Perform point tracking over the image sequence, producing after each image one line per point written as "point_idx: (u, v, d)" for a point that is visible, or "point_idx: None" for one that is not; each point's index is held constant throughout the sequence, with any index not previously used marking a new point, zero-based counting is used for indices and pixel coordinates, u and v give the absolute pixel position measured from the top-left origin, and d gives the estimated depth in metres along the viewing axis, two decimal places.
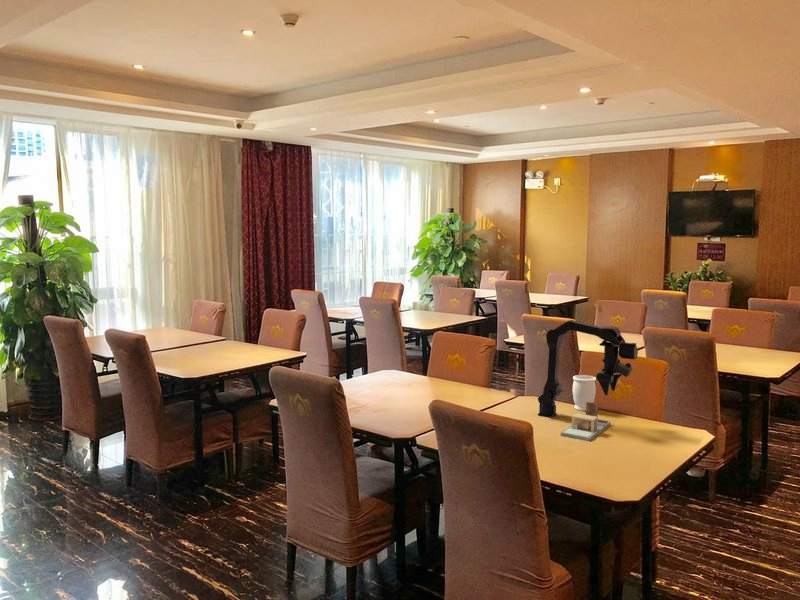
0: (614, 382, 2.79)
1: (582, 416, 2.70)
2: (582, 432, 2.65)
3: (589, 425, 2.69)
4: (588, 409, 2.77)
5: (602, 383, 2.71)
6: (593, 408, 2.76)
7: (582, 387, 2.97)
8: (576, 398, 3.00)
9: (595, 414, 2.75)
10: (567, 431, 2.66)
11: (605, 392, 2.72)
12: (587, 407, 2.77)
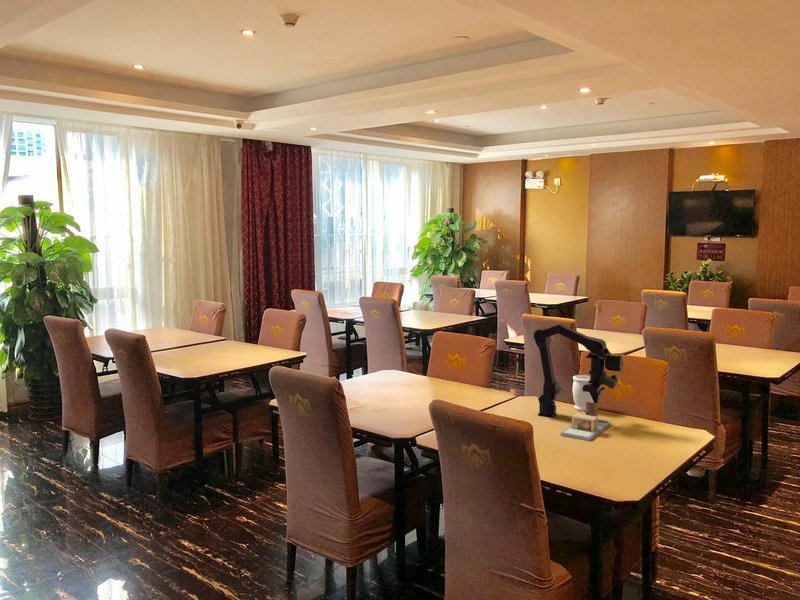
0: None
1: (582, 416, 2.70)
2: (582, 432, 2.65)
3: (589, 425, 2.69)
4: (588, 409, 2.77)
5: (592, 392, 2.80)
6: (593, 408, 2.76)
7: (582, 387, 2.97)
8: (576, 398, 3.00)
9: (595, 414, 2.75)
10: (567, 431, 2.66)
11: (594, 401, 2.81)
12: (587, 407, 2.77)
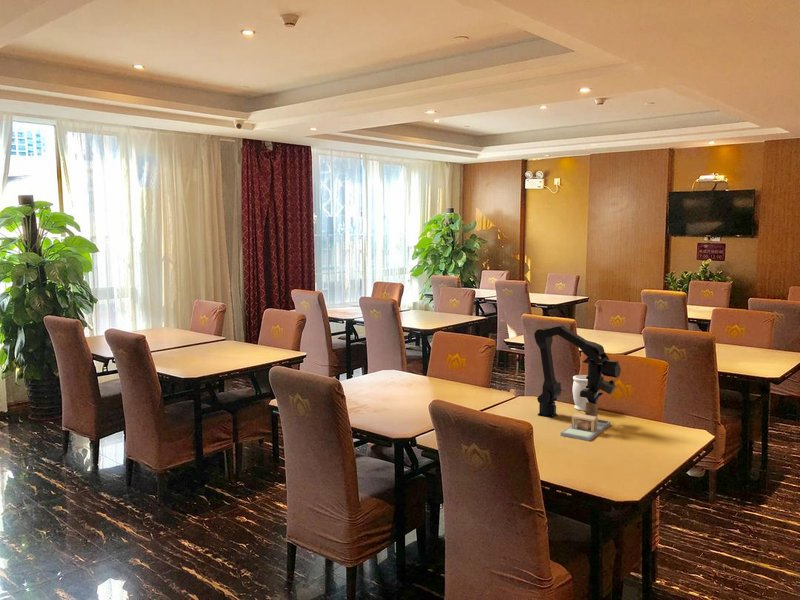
0: None
1: (582, 416, 2.70)
2: (582, 432, 2.65)
3: (589, 425, 2.68)
4: (588, 410, 2.77)
5: (589, 398, 2.77)
6: (593, 408, 2.75)
7: (582, 387, 2.97)
8: (576, 398, 3.00)
9: (595, 414, 2.75)
10: (567, 431, 2.66)
11: None
12: (587, 408, 2.77)
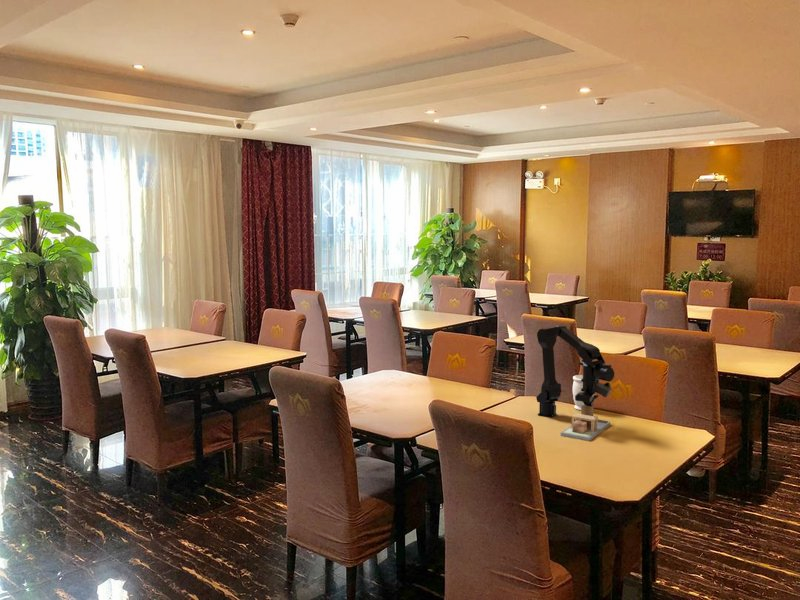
0: None
1: (582, 416, 2.70)
2: None
3: (584, 428, 2.64)
4: (584, 412, 2.72)
5: None
6: (588, 411, 2.71)
7: (582, 387, 2.97)
8: None
9: None
10: (567, 431, 2.66)
11: None
12: (583, 410, 2.73)
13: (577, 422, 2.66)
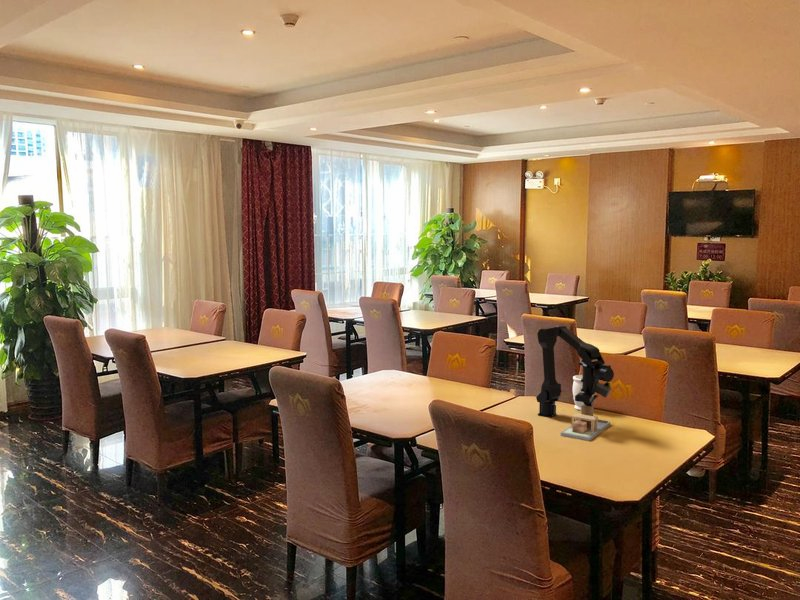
0: None
1: (582, 416, 2.70)
2: None
3: (584, 428, 2.64)
4: (584, 412, 2.72)
5: None
6: (588, 411, 2.71)
7: None
8: None
9: None
10: (567, 431, 2.66)
11: None
12: (583, 410, 2.73)
13: (577, 422, 2.66)
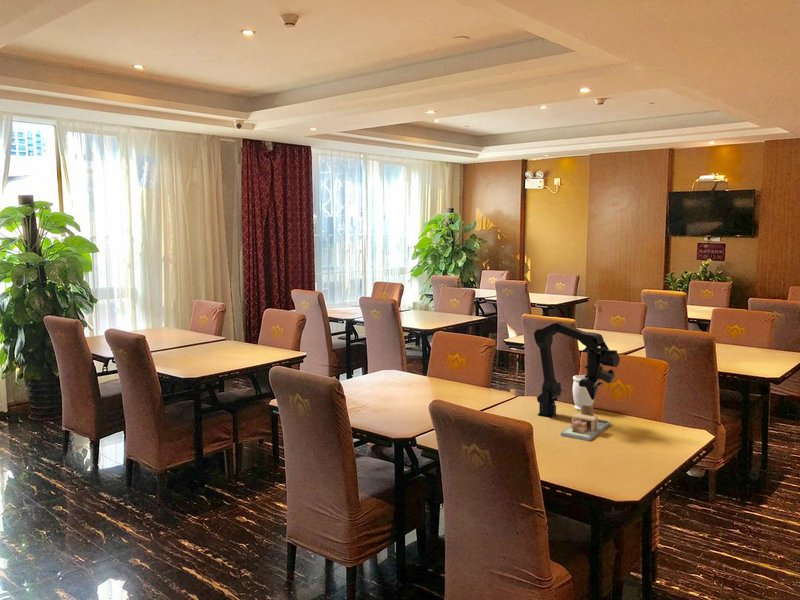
0: None
1: (582, 416, 2.70)
2: None
3: (584, 428, 2.64)
4: (584, 412, 2.72)
5: (588, 388, 2.75)
6: (588, 411, 2.71)
7: (582, 387, 2.97)
8: (576, 398, 3.00)
9: None
10: (567, 431, 2.66)
11: (591, 397, 2.76)
12: (583, 410, 2.73)
13: (577, 422, 2.66)
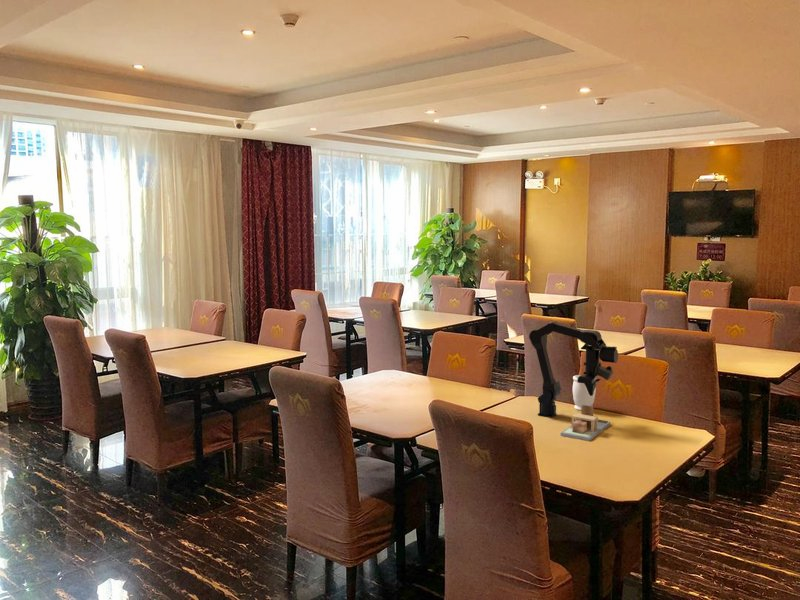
0: None
1: (582, 416, 2.70)
2: None
3: (584, 428, 2.64)
4: (584, 412, 2.72)
5: (587, 384, 2.80)
6: (588, 411, 2.71)
7: (582, 387, 2.97)
8: (576, 398, 3.00)
9: None
10: (567, 431, 2.66)
11: (589, 393, 2.81)
12: (583, 410, 2.73)
13: (577, 422, 2.66)
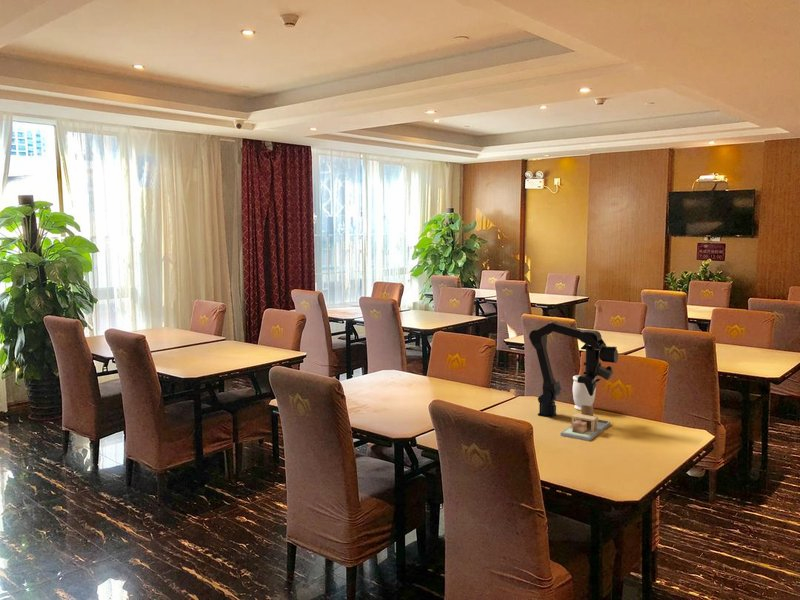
0: None
1: (582, 416, 2.70)
2: None
3: (584, 428, 2.64)
4: (584, 412, 2.72)
5: (587, 384, 2.80)
6: (588, 411, 2.71)
7: (582, 387, 2.97)
8: (576, 398, 3.00)
9: None
10: (567, 431, 2.66)
11: (589, 393, 2.81)
12: (583, 410, 2.73)
13: (577, 422, 2.66)
